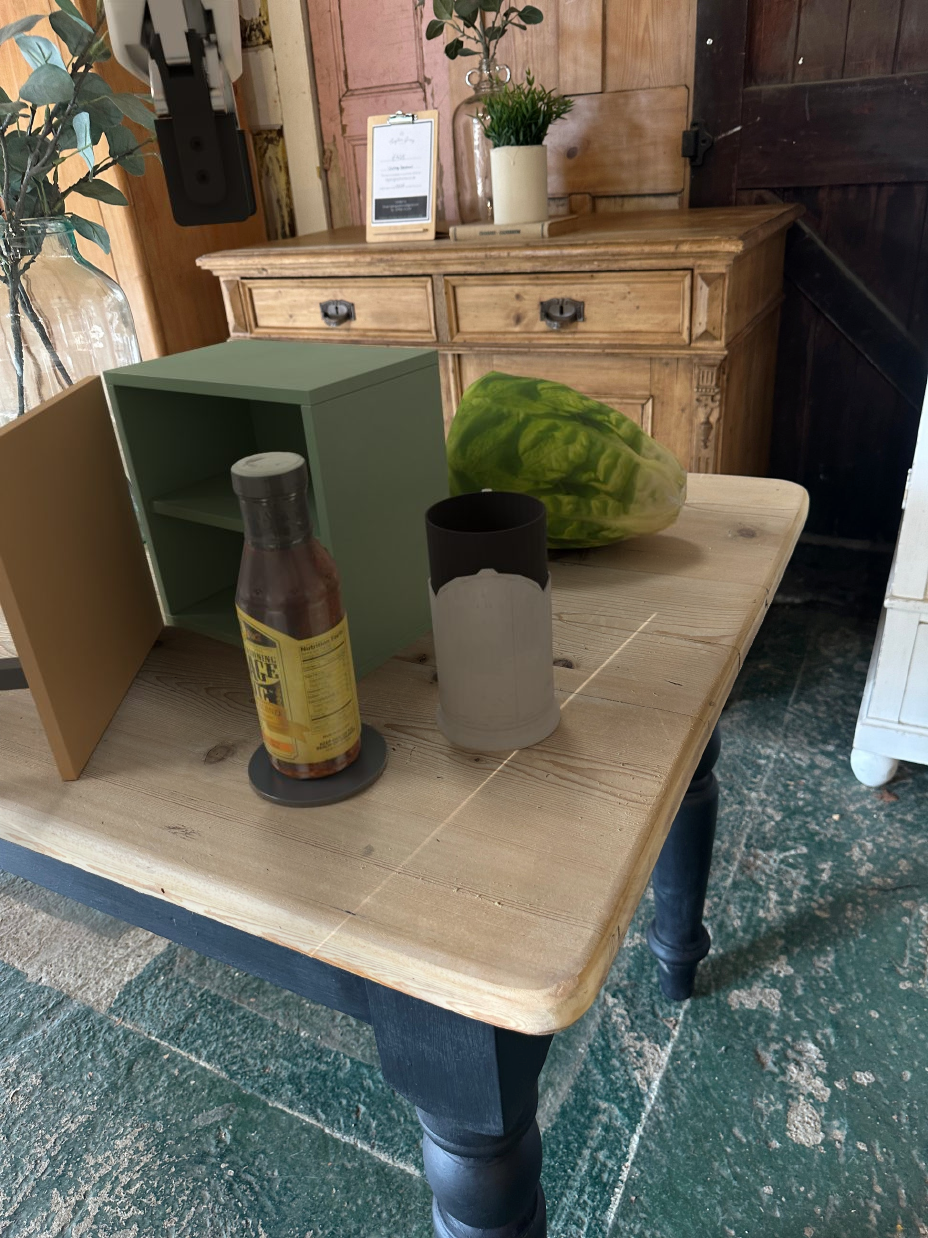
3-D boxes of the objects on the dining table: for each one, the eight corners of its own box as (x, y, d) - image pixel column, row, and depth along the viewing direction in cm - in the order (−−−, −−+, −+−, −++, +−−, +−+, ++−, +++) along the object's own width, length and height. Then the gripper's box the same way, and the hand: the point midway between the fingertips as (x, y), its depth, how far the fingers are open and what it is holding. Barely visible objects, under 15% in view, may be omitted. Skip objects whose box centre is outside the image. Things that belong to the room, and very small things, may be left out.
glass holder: (431, 755, 56) (408, 541, 49) (441, 649, 69) (425, 467, 62) (566, 749, 56) (561, 532, 49) (551, 643, 68) (546, 459, 62)
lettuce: (659, 607, 86) (683, 536, 71) (436, 559, 90) (413, 482, 75) (690, 465, 91) (718, 370, 76) (477, 426, 96) (464, 328, 80)
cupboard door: (-36, 789, 56) (-170, 467, 46) (81, 632, 76) (4, 382, 66) (77, 780, 56) (-34, 456, 46) (164, 625, 76) (100, 374, 66)
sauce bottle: (261, 743, 58) (199, 454, 49) (351, 719, 60) (308, 436, 50) (279, 800, 52) (213, 485, 43) (378, 771, 54) (334, 464, 45)
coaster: (246, 820, 52) (244, 812, 51) (252, 736, 60) (250, 729, 59) (395, 795, 53) (394, 787, 53) (381, 716, 61) (380, 709, 60)
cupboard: (353, 685, 65) (308, 390, 55) (166, 623, 76) (101, 371, 66) (459, 610, 75) (438, 349, 65) (280, 565, 86) (238, 338, 76)
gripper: (82, -175, 41) (164, 221, 49) (-41, -394, 26) (107, 235, 33) (242, -179, 42) (298, 210, 50) (216, -391, 27) (302, 219, 34)
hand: (221, 220), depth 41 cm, fingers open, 9 cm apart
